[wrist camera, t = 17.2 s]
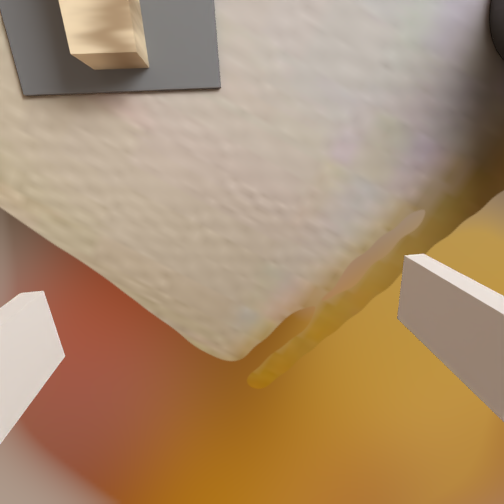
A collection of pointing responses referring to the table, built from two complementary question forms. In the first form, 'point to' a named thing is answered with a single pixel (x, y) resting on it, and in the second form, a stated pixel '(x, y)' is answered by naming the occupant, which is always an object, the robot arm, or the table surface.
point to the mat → (115, 80)
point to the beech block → (105, 33)
